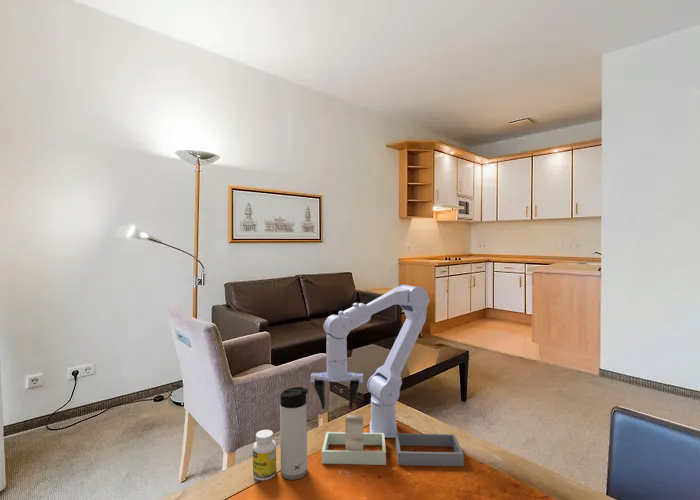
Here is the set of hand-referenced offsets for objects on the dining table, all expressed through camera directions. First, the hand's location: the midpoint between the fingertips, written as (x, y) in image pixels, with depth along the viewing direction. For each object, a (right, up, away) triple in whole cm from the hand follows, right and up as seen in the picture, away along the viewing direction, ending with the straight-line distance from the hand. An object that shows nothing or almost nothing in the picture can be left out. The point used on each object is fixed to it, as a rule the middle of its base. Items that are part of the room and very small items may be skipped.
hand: (337, 407), depth 104 cm
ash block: (+5, -9, -6) cm, 12 cm away
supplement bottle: (-17, -10, -15) cm, 25 cm away
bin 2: (+24, -9, -7) cm, 26 cm away
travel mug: (-10, -10, -14) cm, 20 cm away
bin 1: (+5, -9, -6) cm, 12 cm away
